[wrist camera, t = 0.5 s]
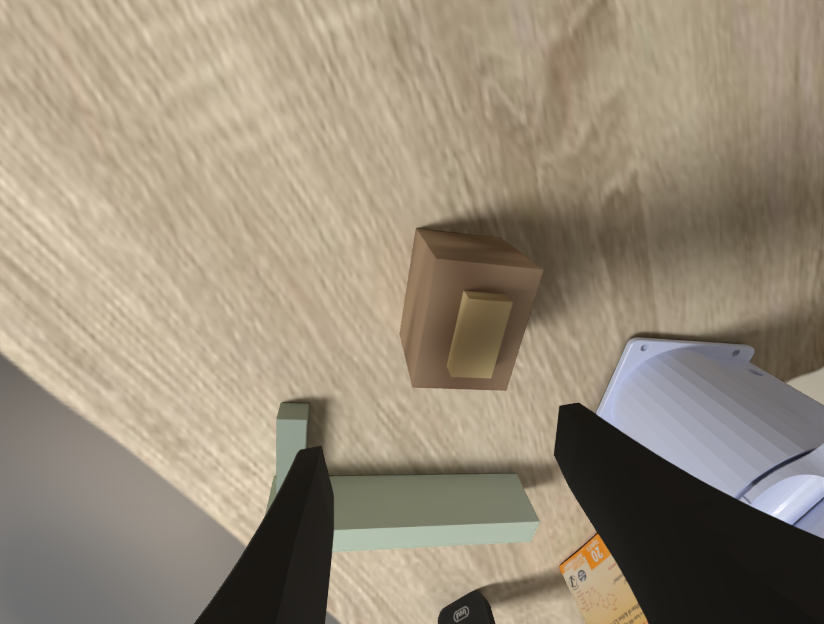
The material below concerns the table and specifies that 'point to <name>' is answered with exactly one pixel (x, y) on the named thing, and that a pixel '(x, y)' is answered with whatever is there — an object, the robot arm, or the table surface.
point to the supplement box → (600, 586)
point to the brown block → (465, 310)
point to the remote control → (467, 611)
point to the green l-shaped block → (411, 502)
